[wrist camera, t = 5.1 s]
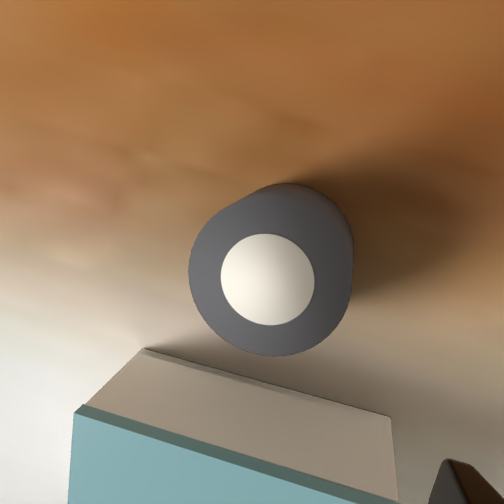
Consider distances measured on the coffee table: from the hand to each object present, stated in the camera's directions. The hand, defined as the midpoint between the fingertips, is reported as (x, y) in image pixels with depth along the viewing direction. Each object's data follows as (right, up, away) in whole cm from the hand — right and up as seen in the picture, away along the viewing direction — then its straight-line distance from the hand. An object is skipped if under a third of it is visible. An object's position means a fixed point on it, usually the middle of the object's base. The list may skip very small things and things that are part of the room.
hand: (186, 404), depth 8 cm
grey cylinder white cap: (+3, +3, +11) cm, 12 cm away
